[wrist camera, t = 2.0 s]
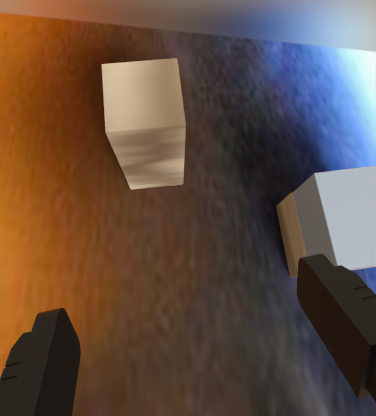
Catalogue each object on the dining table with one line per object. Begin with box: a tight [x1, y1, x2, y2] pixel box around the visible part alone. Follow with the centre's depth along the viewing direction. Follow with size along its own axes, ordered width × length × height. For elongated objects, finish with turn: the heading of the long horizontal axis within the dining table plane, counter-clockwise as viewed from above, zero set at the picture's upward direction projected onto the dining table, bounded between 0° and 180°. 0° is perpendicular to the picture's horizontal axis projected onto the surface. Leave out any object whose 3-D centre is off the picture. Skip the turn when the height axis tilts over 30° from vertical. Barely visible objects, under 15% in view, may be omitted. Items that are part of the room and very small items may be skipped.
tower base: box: [276, 192, 376, 278], centre depth 25 cm, size 6×6×4 cm
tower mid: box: [292, 166, 376, 270], centre depth 21 cm, size 6×6×4 cm
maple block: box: [102, 58, 186, 190], centre depth 24 cm, size 4×4×10 cm
